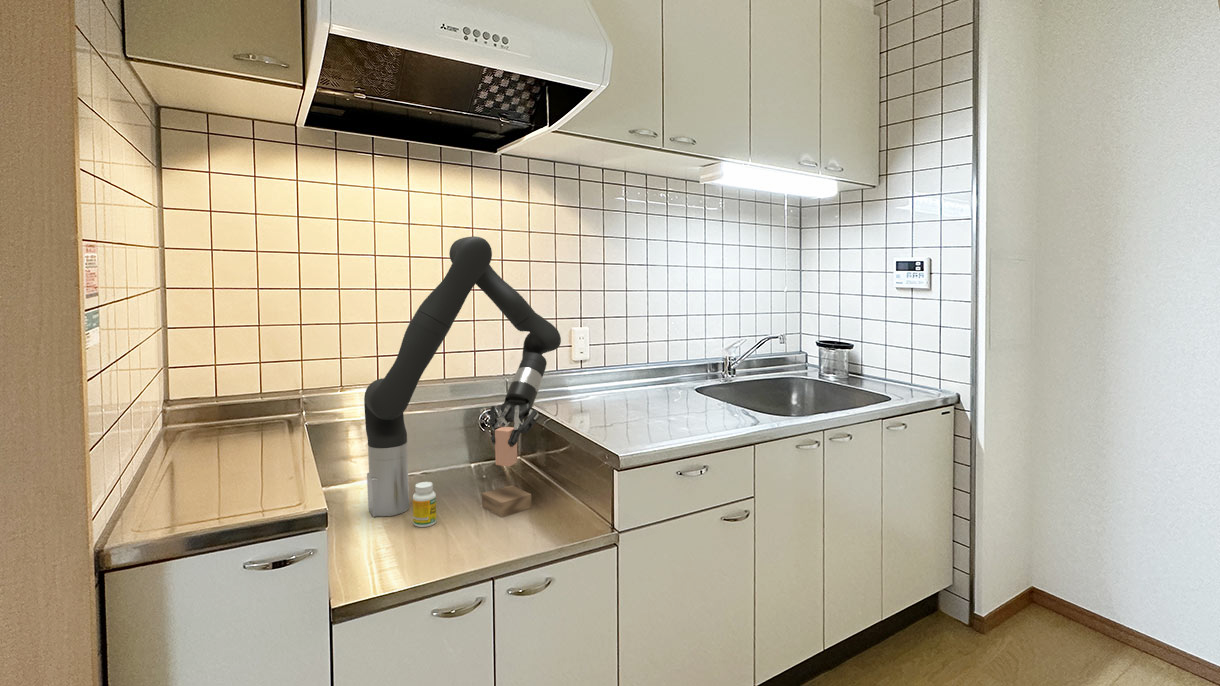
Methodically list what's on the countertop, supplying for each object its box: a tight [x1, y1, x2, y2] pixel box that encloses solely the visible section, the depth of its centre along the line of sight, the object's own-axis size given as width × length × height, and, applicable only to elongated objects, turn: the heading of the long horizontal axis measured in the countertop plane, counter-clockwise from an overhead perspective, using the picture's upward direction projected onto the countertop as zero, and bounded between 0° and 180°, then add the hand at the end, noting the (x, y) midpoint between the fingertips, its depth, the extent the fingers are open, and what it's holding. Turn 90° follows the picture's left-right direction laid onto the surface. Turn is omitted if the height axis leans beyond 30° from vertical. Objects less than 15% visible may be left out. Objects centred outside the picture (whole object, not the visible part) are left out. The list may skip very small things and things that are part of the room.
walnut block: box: [481, 484, 532, 518], centre depth 152 cm, size 9×9×4 cm
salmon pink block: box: [494, 426, 518, 467], centre depth 150 cm, size 4×4×9 cm
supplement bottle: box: [412, 481, 437, 528], centre depth 141 cm, size 5×5×10 cm
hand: (502, 444), depth 148 cm, fingers closed on salmon pink block, 4 cm apart
